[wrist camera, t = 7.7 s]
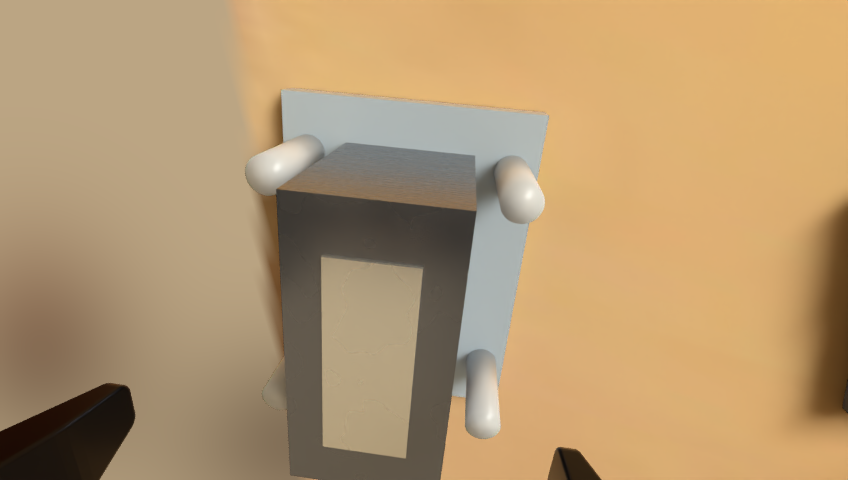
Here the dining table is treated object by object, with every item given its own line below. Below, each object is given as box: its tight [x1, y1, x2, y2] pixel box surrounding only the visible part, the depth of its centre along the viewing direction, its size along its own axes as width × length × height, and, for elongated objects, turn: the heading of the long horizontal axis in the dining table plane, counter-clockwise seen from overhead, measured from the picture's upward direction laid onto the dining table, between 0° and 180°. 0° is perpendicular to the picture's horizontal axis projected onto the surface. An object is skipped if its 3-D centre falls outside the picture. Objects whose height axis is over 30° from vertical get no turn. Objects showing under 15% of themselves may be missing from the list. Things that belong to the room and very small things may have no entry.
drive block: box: [276, 142, 477, 480], centre depth 14 cm, size 9×4×6 cm, turn 175°
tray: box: [245, 88, 549, 439], centre depth 16 cm, size 12×9×4 cm
